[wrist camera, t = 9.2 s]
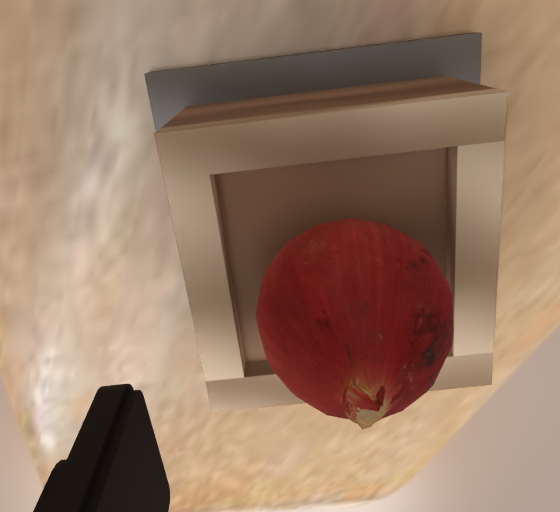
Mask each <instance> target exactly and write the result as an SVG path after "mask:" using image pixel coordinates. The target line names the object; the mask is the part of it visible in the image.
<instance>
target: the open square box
mask: <svg viewBox="0 0 560 512" xmlns="http://www.w3.org/2000/svg"><path fill="white" fill-rule="evenodd" d="M481 38H482V33H466V34H458V35H450V36H442V37H433V38H425V39H417V40H409V41H401V42H393V43H384V44H376V45H368V46H360V47H352V48H343V49H335V50H327V51H319V52H311V53H303V54H294V55H286V56H278V57H270V58H262V59H253V60H245V61H237V62H229V63H221V64H212V65H204V66H196V67H188V68H180V69H172V70H163V71H155V72H149V73H145V74H144V75H145V80H146V85H147V89H148V94H149V99H150V104H151V109H152V114H153V119H154V124H155V129H156V133H154V134H155V139H156V144H157V148H158V153H159V158H160V163H161V168H162V173H163V178H164V182H165V187H166V192H167V197H168V202H169V207H170V211H171V216H172V221H173V226H174V231H175V236H176V241H177V245H178V250H179V255H180V260H181V265H182V270H183V275H184V279H185V284H186V289H187V294H188V299H189V304H190V309H191V313H192V318H193V323H194V328H195V333H196V338H197V342H198V347H199V352H200V357H201V362H202V367H203V372H204V376H205V381H206V386H207V391H208V396H209V401H210V406H211V410H212V412H220V411H231V410H241V409H251V408H261V407H271V406H281V405H291V404H302V403H306V402H304V401H303V400H301V399H299V398H297V397H296V396H295V395H294V394H293V393H292V392H291V391H290V390H289V389H288V388H287V387H286V386H285V384H284V383H283V382H282V381H281V380H280V378H279V377H278V376H277V375H276V374H275V372H274V371H273V370H272V368H271V366H270V365H269V363H268V361H267V359H266V356H265V353H264V349H263V345H262V341H261V338H260V334H259V330H258V325H257V321H256V316H255V314H256V309H257V303H258V298H259V293H260V287H261V283H262V279H263V276H264V273H265V269H266V268H267V267H268V265H269V264H270V263H271V262H272V260H273V259H274V258H275V257H276V255H277V254H278V253H279V251H280V250H281V249H282V248H283V246H284V245H285V244H286V243H287V242H289V241H290V240H292V239H294V238H295V237H297V236H298V235H300V234H302V233H303V232H305V231H306V230H308V229H310V228H311V227H313V226H315V225H317V224H322V223H327V222H332V221H337V220H343V219H348V218H355V219H361V220H367V221H373V222H379V223H385V224H388V225H389V226H391V227H393V228H395V229H397V230H399V231H401V232H402V233H404V234H406V235H408V236H410V237H412V238H414V239H415V240H417V241H418V242H420V243H421V244H422V245H423V246H425V247H426V248H427V249H428V250H429V252H430V254H431V255H432V257H433V258H434V260H435V261H436V263H437V265H438V266H439V268H440V269H441V271H442V273H443V274H444V276H445V277H446V279H447V280H448V282H449V286H450V289H451V292H452V295H453V327H454V334H453V342H452V347H451V349H450V351H449V354H448V356H447V358H446V360H445V362H444V364H443V366H442V368H441V370H440V373H439V375H438V377H437V379H436V381H435V383H434V385H433V386H432V387H431V388H430V389H429V390H428V391H433V390H444V389H454V388H464V387H474V386H484V385H492V368H493V350H494V332H495V314H496V296H497V278H498V260H499V242H500V224H501V206H502V188H503V170H504V152H505V134H506V116H507V98H508V92H507V91H503V90H499V89H495V88H491V87H487V86H483V85H480V67H481Z"/></svg>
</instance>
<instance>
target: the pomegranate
mask: <svg viewBox="0 0 560 512" xmlns="http://www.w3.org/2000/svg"><path fill="white" fill-rule="evenodd" d="M255 316H256V321H257V325H258V330H259V334H260V338H261V341H262V345H263V349H264V353H265V356H266V359H267V361H268V363H269V365H270V366H271V368H272V370H273V371H274V372H275V374H276V375H277V376H278V377H279V378H280V380H281V381H282V382H283V383H284V384H285V386H286V387H287V388H288V389H289V390H290V391H291V392H292V393H293V394H294V395H295V396H296V397H297V398H299V399H301V400H303V401H304V402H306V403H308V404H309V405H311V406H313V407H314V408H316V409H318V410H319V411H321V412H323V413H324V414H326V415H329V416H334V417H340V418H345V419H350V420H351V421H352V422H354V423H357V424H358V425H359V426H360V427H361V428H362V429H365V428H368V427H370V426H372V425H373V424H374V423H375V422H377V421H379V420H381V419H382V418H385V417H387V416H390V415H393V414H395V413H398V412H400V411H403V410H404V409H405V408H406V407H408V406H409V405H410V404H412V403H413V402H414V401H416V400H417V399H418V398H419V397H421V396H422V395H423V394H425V393H426V392H427V391H428V390H429V389H430V388H431V387H432V386H433V385H434V383H435V381H436V379H437V377H438V375H439V373H440V370H441V368H442V366H443V364H444V362H445V360H446V358H447V356H448V354H449V351H450V349H451V347H452V342H453V334H454V327H453V295H452V292H451V289H450V286H449V282H448V280H447V279H446V277H445V276H444V274H443V273H442V271H441V269H440V268H439V266H438V265H437V263H436V261H435V260H434V258H433V257H432V255H431V254H430V252H429V250H428V249H427V248H426V247H425V246H423V245H422V244H421V243H420V242H418V241H417V240H415V239H414V238H412V237H410V236H408V235H406V234H404V233H402V232H401V231H399V230H397V229H395V228H393V227H391V226H389V225H388V224H385V223H379V222H373V221H367V220H361V219H355V218H348V219H343V220H337V221H332V222H327V223H322V224H317V225H315V226H313V227H311V228H310V229H308V230H306V231H305V232H303V233H302V234H300V235H298V236H297V237H295V238H294V239H292V240H290V241H289V242H287V243H286V244H285V245H284V246H283V248H282V249H281V250H280V251H279V253H278V254H277V255H276V257H275V258H274V259H273V260H272V262H271V263H270V264H269V265H268V267H267V268H266V269H265V273H264V276H263V279H262V283H261V287H260V293H259V298H258V303H257V309H256V314H255Z"/></svg>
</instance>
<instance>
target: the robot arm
mask: <svg viewBox="0 0 560 512" xmlns="http://www.w3.org/2000/svg"><path fill="white" fill-rule="evenodd" d="M169 504H170V488H169V484H168V480H167V477H166V473H165V470H164V466H163V462H162V459H161V455H160V452H159V448H158V445H157V441H156V438H155V434H154V431H153V427H152V424H151V420H150V417H149V413H148V410H147V406H146V403H145V399H144V396H143V393H142V392H141V390H133V387H132V386H131V384H121V385H111V386H102V387H100V388H99V389H98V391H97V393H96V395H95V397H94V400H93V402H92V404H91V406H90V409H89V411H88V413H87V415H86V418H85V420H84V422H83V424H82V427H81V429H80V431H79V433H78V436H77V438H76V440H75V442H74V445H73V447H72V449H71V451H70V454H69V456H68V458H67V460H61V461H59V462H58V463H57V464H56V465H55V467H54V469H53V470H52V472H51V474H50V476H49V479H48V481H47V483H46V485H45V487H44V489H43V491H42V494H41V496H40V498H39V500H38V502H37V504H36V507H35V509H34V511H33V512H168V510H169Z"/></svg>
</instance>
